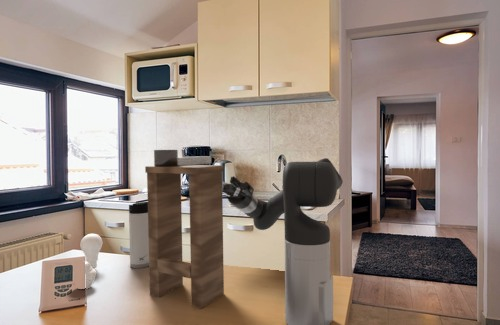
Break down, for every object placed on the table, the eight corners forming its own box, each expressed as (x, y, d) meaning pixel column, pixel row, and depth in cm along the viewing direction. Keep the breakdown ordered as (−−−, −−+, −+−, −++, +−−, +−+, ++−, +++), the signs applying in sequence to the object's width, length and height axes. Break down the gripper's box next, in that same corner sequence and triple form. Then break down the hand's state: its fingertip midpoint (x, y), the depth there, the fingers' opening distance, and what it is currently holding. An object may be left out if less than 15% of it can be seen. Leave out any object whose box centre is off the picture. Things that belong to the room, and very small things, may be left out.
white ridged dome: (99, 282, 95) (99, 257, 95) (92, 291, 89) (91, 264, 89) (76, 283, 94) (75, 258, 94) (66, 293, 88) (66, 265, 88)
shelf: (224, 293, 87) (223, 165, 86) (200, 309, 78) (198, 167, 77) (175, 282, 95) (173, 164, 93) (148, 295, 86) (145, 166, 85)
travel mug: (146, 268, 105) (144, 203, 105) (126, 267, 107) (124, 202, 106) (155, 262, 112) (154, 200, 111) (136, 261, 113) (135, 199, 112)
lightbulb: (107, 268, 106) (106, 232, 106) (89, 274, 101) (87, 237, 101) (95, 265, 109) (94, 230, 109) (76, 271, 104) (75, 234, 104)
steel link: (215, 163, 99) (214, 149, 99) (167, 166, 82) (166, 149, 81) (199, 163, 102) (198, 149, 101) (149, 166, 84) (149, 150, 84)
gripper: (228, 187, 124) (204, 167, 111) (264, 189, 117) (242, 168, 104) (222, 207, 121) (197, 188, 108) (259, 210, 114) (236, 191, 101)
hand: (219, 178), depth 106 cm, fingers open, 8 cm apart
